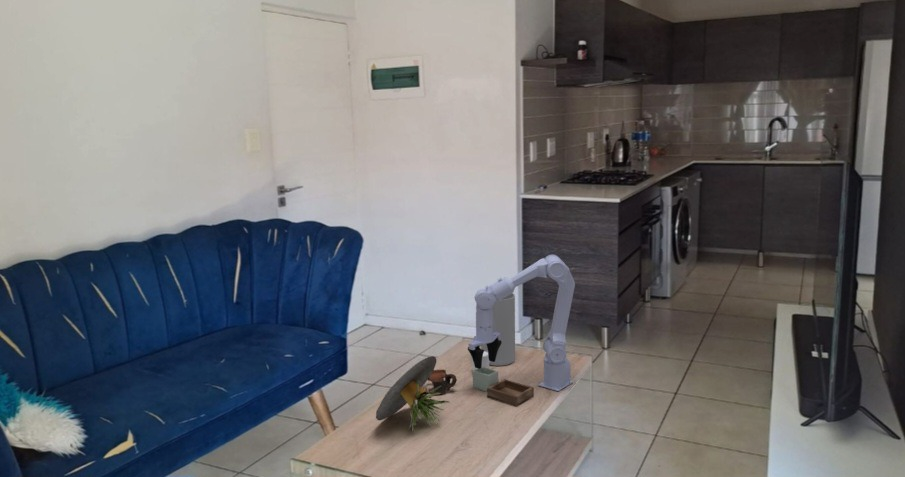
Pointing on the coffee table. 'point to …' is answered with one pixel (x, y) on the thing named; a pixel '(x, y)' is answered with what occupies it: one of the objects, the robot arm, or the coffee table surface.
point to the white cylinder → (484, 361)
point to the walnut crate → (510, 392)
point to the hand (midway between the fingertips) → (485, 364)
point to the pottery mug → (441, 381)
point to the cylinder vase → (504, 330)
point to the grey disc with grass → (412, 394)
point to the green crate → (484, 378)
